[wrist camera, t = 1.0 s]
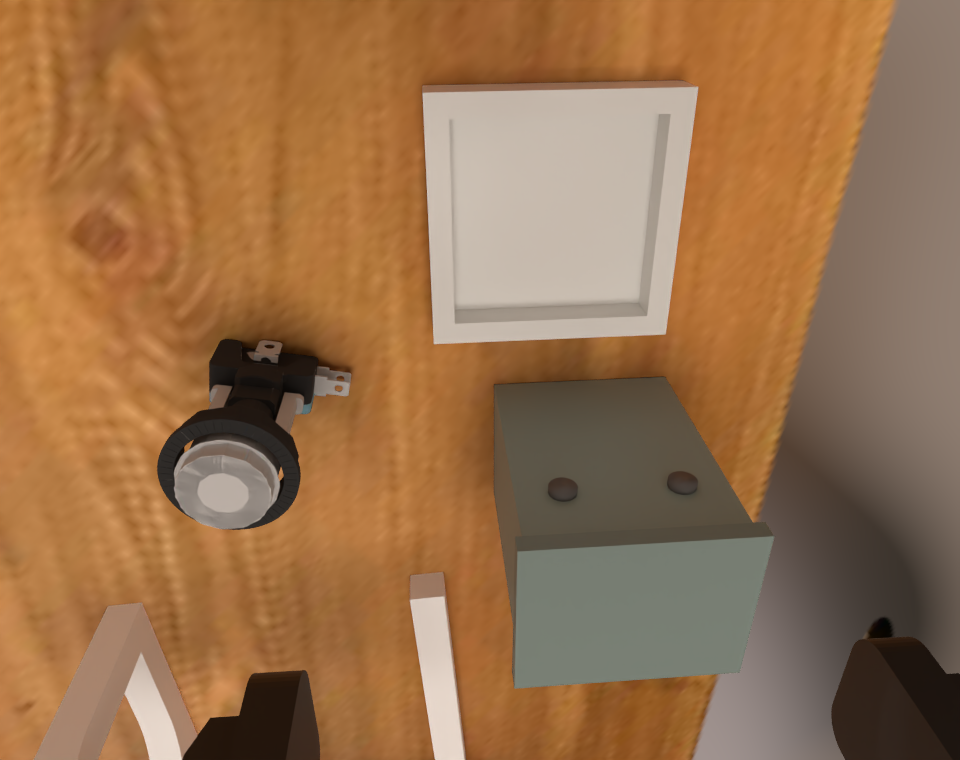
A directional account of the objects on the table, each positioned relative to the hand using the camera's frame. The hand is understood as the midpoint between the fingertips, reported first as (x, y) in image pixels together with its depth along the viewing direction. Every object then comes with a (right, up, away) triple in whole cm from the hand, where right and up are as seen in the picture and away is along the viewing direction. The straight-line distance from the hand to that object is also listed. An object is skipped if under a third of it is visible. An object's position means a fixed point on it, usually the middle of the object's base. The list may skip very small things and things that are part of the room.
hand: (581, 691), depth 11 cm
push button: (-11, +5, +26) cm, 28 cm away
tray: (+2, +12, +22) cm, 26 cm away
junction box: (+4, +1, +29) cm, 29 cm away
